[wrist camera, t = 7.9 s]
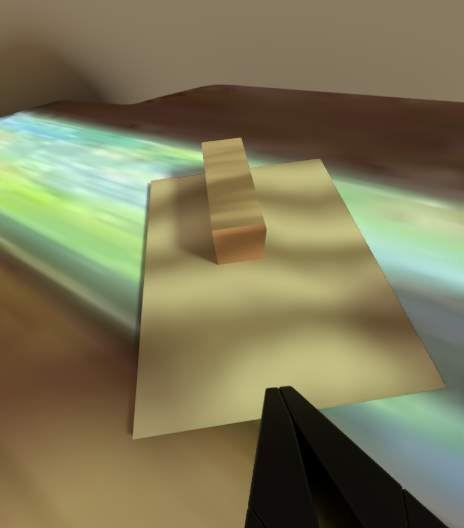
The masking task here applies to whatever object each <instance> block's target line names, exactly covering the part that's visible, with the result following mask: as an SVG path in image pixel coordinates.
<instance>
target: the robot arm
mask: <svg viewBox="0 0 464 528" xmlns="http://www.w3.org/2000/svg"><path fill="white" fill-rule="evenodd" d="M244 528H449V527H447V526H446V525H445V524H444V523H443V522H442V521H441V520H440V519H438V518H437V517H436V516H435V515H434V514H433V513H432V512H430V511H429V510H428V509H427V508H426V507H425V506H424V505H423V504H421V503H420V502H419V501H418V500H417V499H416V498H415V497H414V496H413V495H411V494H410V493H409V492H408V491H407V490H406V489H403V490H402V486H401V485H400V484H399V483H398V482H397V481H396V480H395V479H394V478H393V477H391V476H390V475H389V474H388V473H387V472H386V471H385V470H384V469H383V468H382V467H380V466H379V465H378V464H377V463H376V462H375V461H374V460H373V459H372V458H371V457H369V456H368V455H367V454H366V453H365V452H364V451H363V450H362V449H361V448H360V447H358V446H357V445H356V444H355V443H354V442H353V441H352V440H351V439H350V438H349V437H347V436H346V435H345V434H344V433H343V432H342V431H341V430H340V429H339V428H337V427H336V426H335V425H334V424H333V423H332V422H331V421H330V420H329V419H328V418H326V417H325V416H324V415H323V414H322V413H321V412H320V411H319V410H318V409H317V408H315V407H314V406H313V405H312V404H311V403H310V402H309V401H308V400H307V399H306V398H304V397H303V396H302V395H301V394H300V393H299V392H298V391H297V390H296V389H295V388H293V387H292V386H281V387H279V388H278V387H270V388H266V389H265V395H264V402H263V408H262V415H261V422H260V428H259V435H258V442H257V448H256V455H255V462H254V469H253V475H252V482H251V489H250V495H249V502H248V509H247V514H246V521H245V527H244Z"/></svg>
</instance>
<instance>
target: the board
mask: <svg viewBox="0 0 464 528" xmlns="http://www.w3.org/2000/svg"><path fill="white" fill-rule="evenodd" d="M250 171H251V175H252V179H253V182H254V186H255V189H256V193H257V196H258V200H259V204H260V207H261V211H262V214H263V218H264V221H265V225H266V228H267V232H266V239H265V247H264V254H263V259H256V260H249V261H242V262H235V263H228V264H221V265H218V261H217V256H216V251H215V246H214V241H213V235H212V227H211V218H210V210H209V201H208V193H207V184H206V176H205V174H200V175H193V176H185V177H177V178H170V179H162V180H154V181H151V192H150V206H149V220H148V234H147V247H146V261H145V275H144V289H143V303H142V317H141V331H140V345H139V359H138V373H137V386H136V400H135V414H134V428H133V439H139V438H145V437H151V436H157V435H163V434H170V433H176V432H182V431H188V430H194V429H200V428H206V427H212V426H218V425H224V424H230V423H237V422H243V421H249V420H255V419H261V415H262V408H263V402H264V395H265V389H266V388H270V387H278V388H279V387H281V386H292V387H293V388H295V389H296V390H297V391H298V392H299V393H300V394H301V395H302V396H303V397H304V398H306V399H307V400H308V401H309V402H310V403H311V404H312V405H313V406H314V407H315V408H317V409H322V408H328V407H334V406H340V405H346V404H352V403H358V402H364V401H370V400H377V399H383V398H389V397H395V396H401V395H407V394H413V393H419V392H425V391H431V390H437V389H444V388H447V387H446V385H445V383H444V382H443V380H442V378H441V376H440V374H439V373H438V371H437V369H436V367H435V365H434V364H433V362H432V360H431V358H430V356H429V355H428V353H427V351H426V349H425V347H424V346H423V344H422V342H421V340H420V338H419V337H418V335H417V333H416V331H415V329H414V328H413V326H412V324H411V322H410V320H409V319H408V317H407V315H406V313H405V311H404V309H403V308H402V306H401V304H400V302H399V300H398V299H397V297H396V295H395V293H394V291H393V290H392V288H391V286H390V284H389V282H388V281H387V279H386V277H385V275H384V273H383V272H382V270H381V268H380V266H379V264H378V263H377V261H376V259H375V257H374V255H373V254H372V252H371V250H370V248H369V246H368V245H367V243H366V241H365V239H364V237H363V235H362V234H361V232H360V230H359V228H358V226H357V225H356V223H355V221H354V219H353V217H352V216H351V214H350V212H349V210H348V208H347V207H346V205H345V203H344V201H343V199H342V198H341V196H340V194H339V192H338V190H337V189H336V187H335V185H334V183H333V181H332V180H331V178H330V176H329V174H328V172H327V171H326V169H325V167H324V165H323V163H322V161H321V160H320V159H315V160H307V161H299V162H292V163H284V164H277V165H269V166H261V167H254V168H250Z"/></svg>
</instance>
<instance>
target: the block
mask: <svg viewBox="0 0 464 528" xmlns="http://www.w3.org/2000/svg"><path fill="white" fill-rule="evenodd" d="M202 150H203V159H204V167H205V176H206V184H207V193H208V201H209V210H210V218H211V227H212V235H213V241H214V246H215V251H216V256H217V261H218V265H221V264H228V263H235V262H242V261H249V260H256V259H263V254H264V247H265V239H266V232H267V228H266V225H265V221H264V218H263V214H262V211H261V207H260V204H259V200H258V196H257V193H256V189H255V186H254V182H253V179H252V175H251V171H250V168H249V164H248V161H247V157H246V154H245V150H244V146H243V143H242V139H241V138H235V139H228V140H220V141H212V142H204V143H202Z"/></svg>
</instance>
